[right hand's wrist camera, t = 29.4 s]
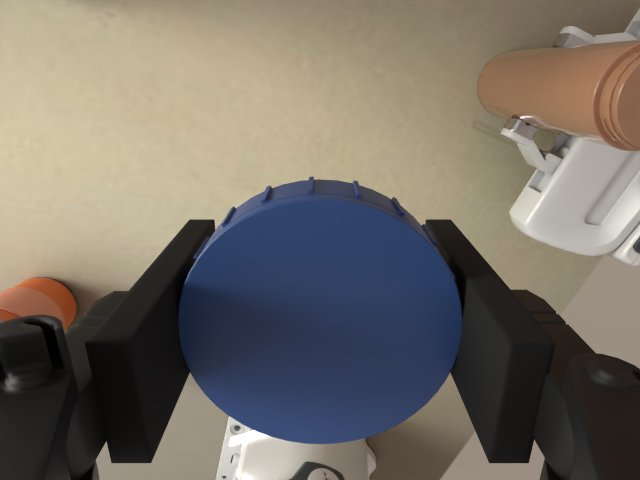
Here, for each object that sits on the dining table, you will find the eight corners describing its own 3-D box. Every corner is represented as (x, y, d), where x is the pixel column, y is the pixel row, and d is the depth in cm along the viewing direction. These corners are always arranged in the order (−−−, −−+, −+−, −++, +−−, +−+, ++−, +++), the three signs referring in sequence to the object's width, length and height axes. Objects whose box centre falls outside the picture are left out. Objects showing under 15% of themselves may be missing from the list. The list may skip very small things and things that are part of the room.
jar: (474, 118, 40) (599, 159, 22) (480, 52, 38) (622, 38, 20) (535, 115, 40) (711, 154, 22) (544, 49, 38) (745, 33, 20)
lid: (485, 337, 12) (509, 378, 11) (281, 432, 13) (276, 481, 12) (371, 124, 10) (381, 135, 9) (142, 259, 11) (113, 290, 10)
